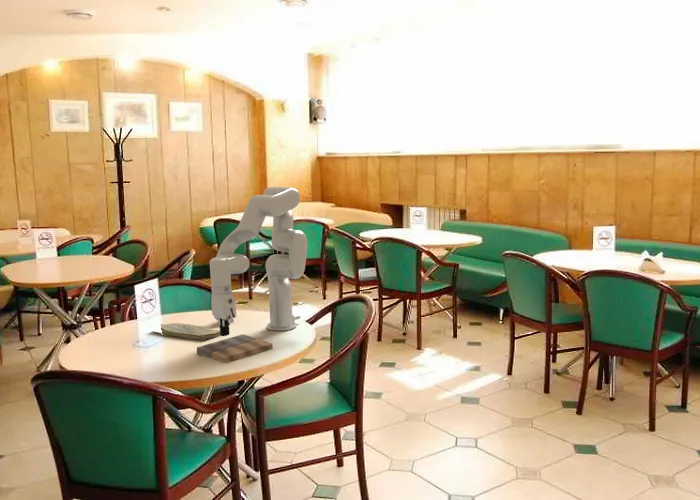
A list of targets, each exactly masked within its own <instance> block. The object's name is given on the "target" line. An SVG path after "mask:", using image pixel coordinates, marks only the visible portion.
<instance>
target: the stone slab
mask: <svg viewBox="0 0 700 500" xmlns="http://www.w3.org/2000/svg"><path fill="white" fill-rule="evenodd" d="M160 325H161V330H162V334H163V335H162V336H163V337H164V336H166V337H167V336H170V337H171V336H172V337H174V336H175V337H178V338H182V339H183V338H184V339H188V340H189V339H190V340H194V341H206V339H213V338H214V339H215V338H217V337H219V336H221V335H220V329H211V328H206V327H203V326H200V325H195V324H190V323H180V322H176V323H175V322H173V323H165V324H164V323H163V324H160Z"/></svg>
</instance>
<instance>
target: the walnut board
mask: <svg viewBox="0 0 700 500" xmlns="http://www.w3.org/2000/svg"><path fill="white" fill-rule="evenodd" d="M273 347H274V346H273V342H269V341H266V340H263V339H262V340H261V339H259V338H256V340H252V341H249V342H246V343H242V344H239V345H235V346H232V347H229V348H225V349H222V350H219V351H215V352H212V353H211V359H214V360H217V361H220V362H223V363H225V364H228V363H230V362H233V361H234V362H235V361H237V360H241V359H244V358H247V357H250V356H253V355H256V354H259V353H262V352H266V351H269V350H272V349H273Z"/></svg>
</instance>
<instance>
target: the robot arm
mask: <svg viewBox="0 0 700 500" xmlns="http://www.w3.org/2000/svg"><path fill="white" fill-rule="evenodd" d="M300 202H301V193H300V192H299V191H298V189H297V188H294V187H287V186H286V187H284V186H270V187H266V188H265V189H264V191H263V194H257V195H256V194H255V195H253V196H252V197H250V199H249V200H248V202H247V205H246V207H245V210H244V212H243V214H242V216H241V219H240V222H239V223H238V226H237V227H236V228H235V229H234V230H232V232H230V233H229V235H228V236H226V237H225V238H224V239H223V241H222V242H221V244H220V246H219V248H218V250H217V253H216V256H215V257H212V258H210V260H209V270H210V271H209V273H210V283H211V284H210V285H211V301H210V303H211V305H210V307H211V314H212V316H213V317H214V319H216V320H217V322H218V326H219V330H220V336H221V337H226V336H229V335H230V325H231V324H233V323H234V321H235V320H234V318H236V317H237V308H236V302H235V297H234V293H233V291H232V278H231V276H232V275H236V274H237V275H239V274H243V273H245V272H247V270H248V269H250V259H249V258H248V257H247V256H246V255H244V254H240V253H235V251H236V250H237V249H238V248H239V246H240V245H242V244H243V243H247V242H248V241H251V240H252V239H254V238H256V237H258V235H259V233H260V232H261V228H262V227H263V224H264V222H265V221H264V220H265V219H266V217H270V218H271V217H272V218H273V220H272V221H273V223H272V234H271V247H272V248H273V249H274V250H275V251H278V252H284V253H289V255H288V254H280V253H279V254H278V253H277V254H272V255H270V256H269V257H268V258H267V259H266V261H265V270H266V275H267V281H268V298H269V299H268V300H269V323H267V324H266V328H267V329H268V330H270V331H276V332H281V331H283V332H284V331H289V330H290V331H291V330H293V329H295V328H296V327H297V323H296V322H295V321H296V320H299V319H301V315H300V314H296V315H294V314H293V305H292V304H293V301H292V300H293V299H292V297H293V296H292V283H291V281H290V279H293V280H297V279H300V278H301V277H302V276H303V275H304V272H305V269H306V262H307V251H308V239H307V235H306V234H305V232H303V231H302V230H299V229H294V215H293V211H292V210H294V209H295V208H297V206H298V205H299V203H300Z"/></svg>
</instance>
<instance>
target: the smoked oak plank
mask: <svg viewBox="0 0 700 500" xmlns="http://www.w3.org/2000/svg"><path fill="white" fill-rule="evenodd" d="M256 339H257V338H256V337H252V336H250V335H247V334H243V333H242V334H238V335H235V336H232V337H229V338H225V339H221V340H217V341H214V342H211V343H207V344H203V345H200V346H196V353H198V354H201V355H203V356H205V357H208V358H211V353H212V352H215V351H219V350H222V349H225V348H229V347H232V346H235V345H239V344H242V343H246V342H249V341H252V340H256ZM211 359H212V358H211Z"/></svg>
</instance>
